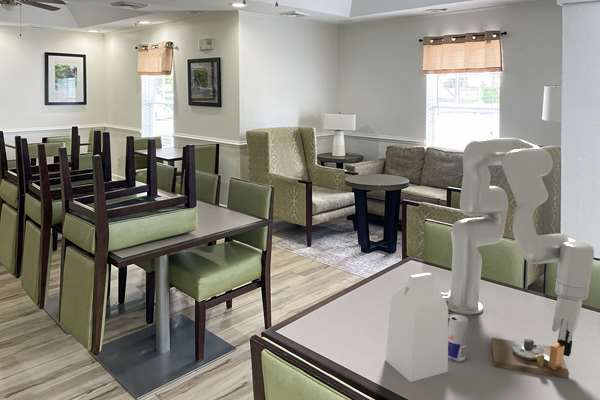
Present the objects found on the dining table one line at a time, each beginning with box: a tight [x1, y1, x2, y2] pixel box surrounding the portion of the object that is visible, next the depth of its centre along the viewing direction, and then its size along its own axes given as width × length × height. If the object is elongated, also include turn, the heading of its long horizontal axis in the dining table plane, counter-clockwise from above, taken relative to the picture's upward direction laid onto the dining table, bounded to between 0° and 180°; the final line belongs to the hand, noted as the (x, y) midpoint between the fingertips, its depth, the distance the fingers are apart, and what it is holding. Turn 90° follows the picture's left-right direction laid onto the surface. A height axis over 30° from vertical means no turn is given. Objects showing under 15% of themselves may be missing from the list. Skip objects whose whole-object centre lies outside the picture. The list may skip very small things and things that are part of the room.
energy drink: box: [448, 313, 469, 363], centre depth 134 cm, size 5×5×12 cm
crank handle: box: [512, 340, 565, 370], centre depth 132 cm, size 13×8×6 cm, turn 30°
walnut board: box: [490, 337, 570, 379], centre depth 134 cm, size 18×14×6 cm
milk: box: [385, 272, 449, 383], centre depth 129 cm, size 12×12×26 cm
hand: (563, 353), depth 129 cm, fingers closed
